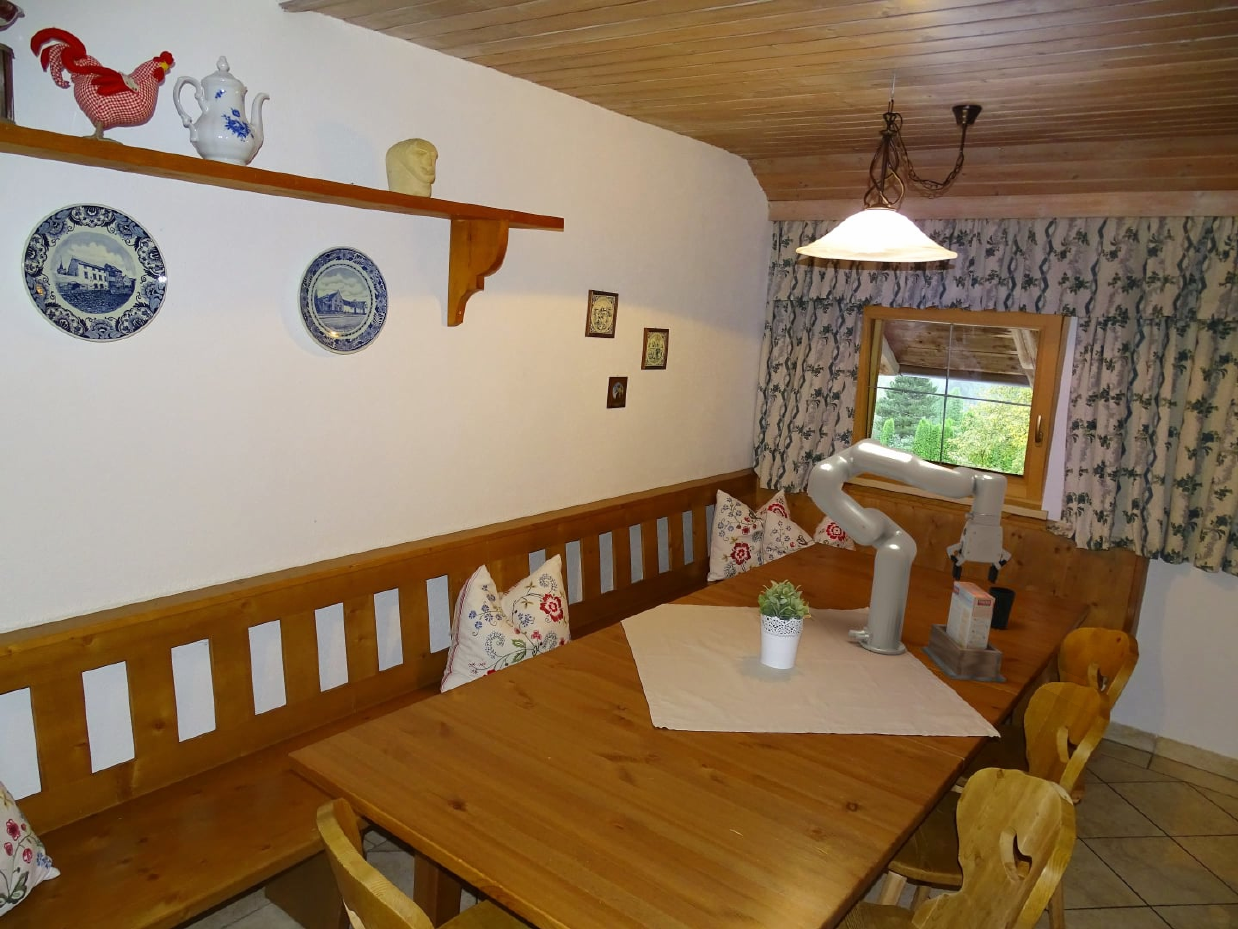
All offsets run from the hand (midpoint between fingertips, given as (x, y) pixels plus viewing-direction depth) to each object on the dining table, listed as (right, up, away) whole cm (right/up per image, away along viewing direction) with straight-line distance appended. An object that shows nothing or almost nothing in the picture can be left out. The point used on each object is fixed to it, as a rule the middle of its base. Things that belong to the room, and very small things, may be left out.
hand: (973, 580), depth 238 cm
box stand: (-2, -24, +4) cm, 24 cm away
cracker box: (-2, -23, +4) cm, 23 cm away
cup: (+23, -20, +40) cm, 50 cm away
